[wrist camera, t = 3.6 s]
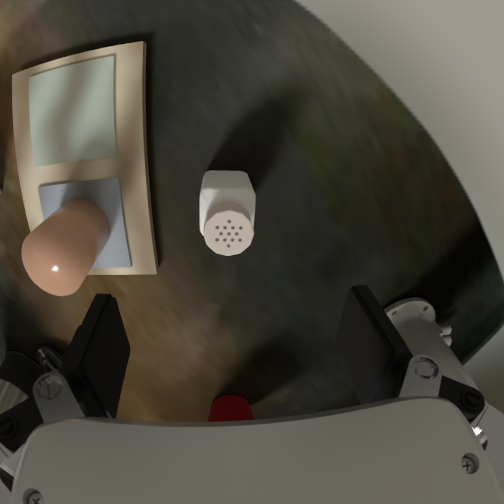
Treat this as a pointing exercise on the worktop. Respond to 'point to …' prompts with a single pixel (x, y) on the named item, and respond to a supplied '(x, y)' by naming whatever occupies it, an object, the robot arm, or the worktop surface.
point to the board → (89, 147)
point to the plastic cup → (230, 409)
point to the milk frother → (24, 375)
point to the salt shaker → (227, 211)
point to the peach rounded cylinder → (66, 246)
